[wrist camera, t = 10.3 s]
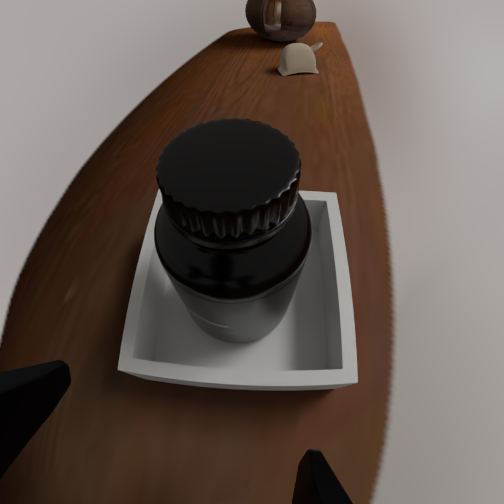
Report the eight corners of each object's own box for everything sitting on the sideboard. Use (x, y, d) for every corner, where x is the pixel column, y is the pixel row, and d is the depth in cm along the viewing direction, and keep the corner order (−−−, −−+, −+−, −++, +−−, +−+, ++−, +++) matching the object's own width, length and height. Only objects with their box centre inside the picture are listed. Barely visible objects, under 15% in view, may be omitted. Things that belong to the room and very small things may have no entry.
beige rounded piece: (272, 68, 41) (272, 40, 36) (315, 65, 42) (318, 40, 37) (281, 76, 39) (283, 47, 34) (327, 74, 40) (330, 47, 35)
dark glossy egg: (271, 30, 56) (273, -20, 43) (324, 42, 51) (330, -12, 38) (231, 41, 50) (229, -17, 37) (289, 54, 45) (293, -14, 32)
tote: (334, 388, 17) (357, 382, 13) (145, 379, 17) (117, 369, 13) (324, 229, 23) (336, 192, 19) (172, 225, 23) (158, 189, 20)
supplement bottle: (189, 349, 17) (101, 253, 7) (189, 256, 21) (142, 114, 10) (296, 341, 18) (358, 233, 7) (282, 249, 21) (305, 101, 11)
